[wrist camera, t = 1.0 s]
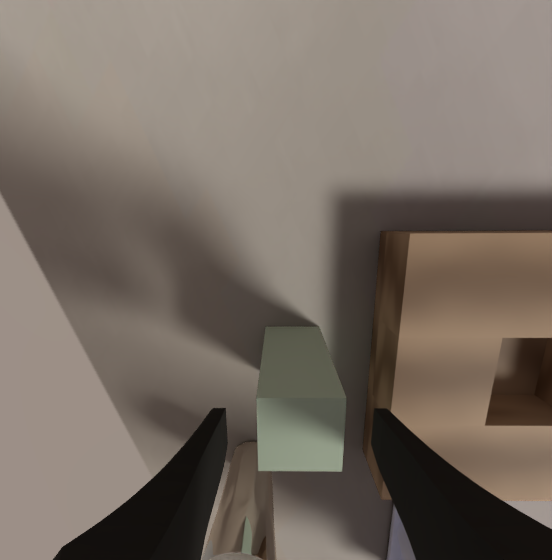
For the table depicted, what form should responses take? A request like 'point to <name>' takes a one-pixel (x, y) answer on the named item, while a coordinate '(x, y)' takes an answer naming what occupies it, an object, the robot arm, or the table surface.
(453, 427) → the socket block
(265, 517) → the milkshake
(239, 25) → the table surface
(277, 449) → the peg
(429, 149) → the table surface
